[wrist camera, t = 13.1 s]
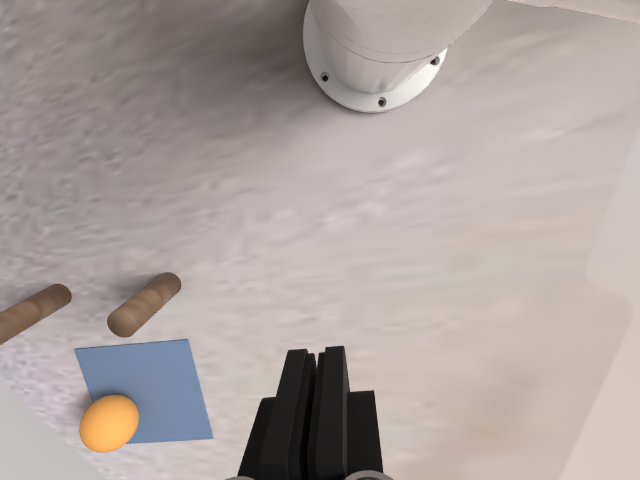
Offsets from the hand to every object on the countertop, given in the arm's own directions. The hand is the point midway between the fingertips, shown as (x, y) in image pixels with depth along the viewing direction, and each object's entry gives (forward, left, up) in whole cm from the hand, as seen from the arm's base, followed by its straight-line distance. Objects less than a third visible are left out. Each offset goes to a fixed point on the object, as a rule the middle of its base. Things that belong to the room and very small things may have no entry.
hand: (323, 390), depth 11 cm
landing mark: (+20, -26, -27) cm, 43 cm away
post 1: (+6, -32, -27) cm, 43 cm away
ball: (+21, -29, -24) cm, 43 cm away
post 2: (+6, -19, -27) cm, 34 cm away
